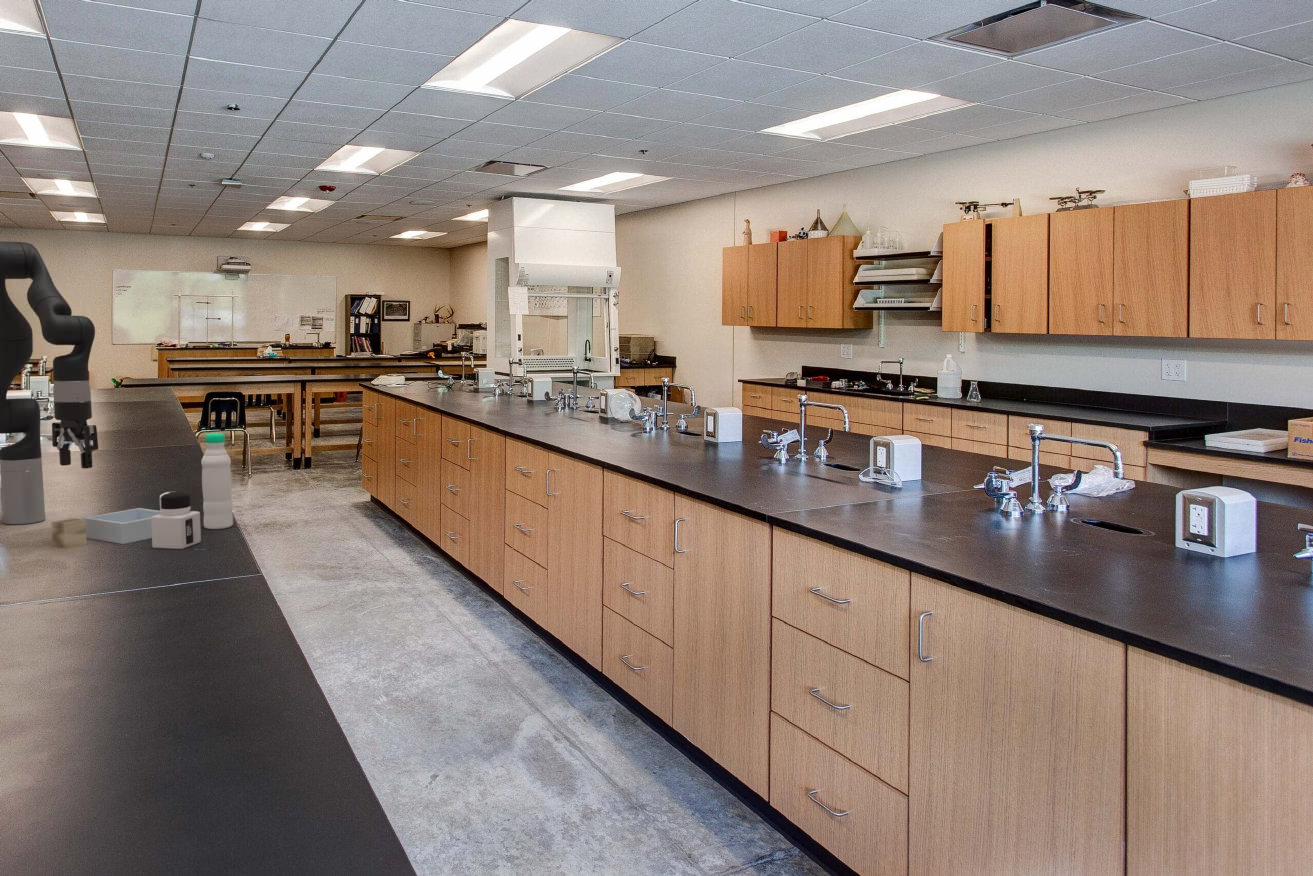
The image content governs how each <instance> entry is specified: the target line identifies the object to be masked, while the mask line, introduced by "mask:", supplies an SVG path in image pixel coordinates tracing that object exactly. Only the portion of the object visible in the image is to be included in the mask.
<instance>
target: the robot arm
mask: <svg viewBox="0 0 1313 876" xmlns="http://www.w3.org/2000/svg"><path fill="white" fill-rule="evenodd" d="M43 259H44V258H43V257H42V256H41V254H40V252H39V251H38V249H37V248H36V246H34V245H33V243H29V242H26V241H6V240H5V241H2V240H1V241H0V434H1V435H3V434H4V435H5V434H25V435H24V437H23V438H21V439H20V440H18V441H17V442H14V443H12V444H9V445H6V446H3V447H1V448H0V485H1V486H0V500H1V501H0V502H1V517H2V518H1V519H2V520H1V521H2V522H3V524H5V525H26V524H35V523H39V522H43V521H45V520H46V508H45V507H46V505H45V491H44V490H45V489H44V476H43V475H44V474H43V462H42V461H43V459H42V457H43V456H42V445H41V441H42V440H41V407H40V404H39V402H38V401H37V399H35V398H30V397H27V398H26V397H24V398H23V397H22V398H17V397H16V398H7V395H8V391H9V388H10V386H11V384H12V383H13V381H14V379H15V378H16V377H17V376H18V375H19V373H21V371H22V370H23V369H24V367H25V366H26V365H27V364H28V362H29V361H30V360H31V357H32V355H33V352H34V346H33V345H34V339H33V336H34V335H33V329H32V326H31V324H30V322H29V321H28V320H27V319H26V317H25V316H24V314H22V312H21V311H20V310H19V308H17V306H16V305H15V304H14V302H13V300H12V299H11V297H10V296H9V294H8V291H7V285H6V280H26V279H30V280H31V283H30V284H29V286H28V289H27V292H26V300H27V304H29V306H30V308H31V309H32V311H33V312H34V314H35V315H36V316H37V317H38V319H39V323H40V327H41V334H42V337H43V340H45V341H46V342H47V343H49V344H50V345H54V346H73V348H72V351H70V353H68V354H63V355H57V356H55V357H54V358H53V361H52V369H53V371H52V373H53V375H52V376H53V386H52V387H53V388H52V394H53V395H52V396H53V411H54V413H53V414H54V419H55V420H57V421H59V422H52V423H51V439H52V441H51V442H52V443H51V444H52V447H53V448H56V450H57V451H58V454H59V465H60V466H70V465H72V464H71V463H72V457H71V447H72V444H73V443H74V445H75V446H76V447H78V448H79V451H80V467H81V469H92V468H93V452H94V451H98V449H99V441H98V429H97V428H98V427H97V425H95V424H92V425H91V424H88V422H87V421H88V420H91V419H92V418H93V414H92V413H93V412H92V411H93V410H92V409H93V408H92V394H91V393H92V391H91V384H90V375H89V361H90V355H91V351H92V346H93V344H94V341H95V337H96V336H95V335H96V328H95V324H94V323H93V321H92V320H91V319H90V318H89V317H87V316H84V315H72V308H71V305H70V304H69V303H68V301H67V300H66V299H65V298H64V296H62V294H61V292H60V291H59V290H58V288H57V287H56V285H55V284H54V281H53V279H52V277H51V275H50V273H49V270H48V268H47V266H46V263H45V262H44V260H43Z"/></svg>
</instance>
